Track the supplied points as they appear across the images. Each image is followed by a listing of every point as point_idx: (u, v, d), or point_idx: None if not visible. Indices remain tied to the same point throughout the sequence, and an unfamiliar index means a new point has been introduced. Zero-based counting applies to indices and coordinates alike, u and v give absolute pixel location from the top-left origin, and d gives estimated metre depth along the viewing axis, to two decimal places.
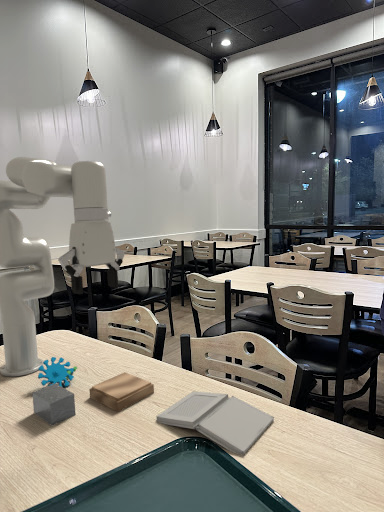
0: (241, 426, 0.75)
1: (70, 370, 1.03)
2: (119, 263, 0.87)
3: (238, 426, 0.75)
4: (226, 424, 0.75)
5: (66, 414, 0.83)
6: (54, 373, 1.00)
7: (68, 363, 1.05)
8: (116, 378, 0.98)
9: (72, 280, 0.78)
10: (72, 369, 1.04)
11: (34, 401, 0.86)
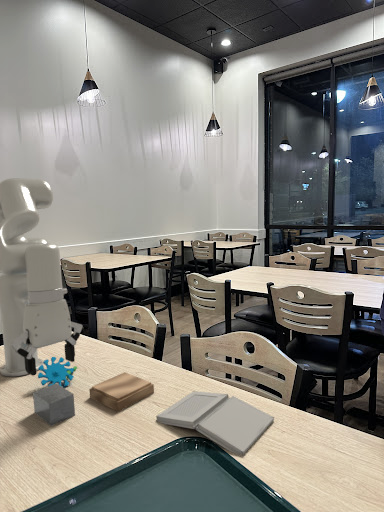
0: (241, 426, 0.75)
1: (70, 370, 1.04)
2: (76, 337, 0.89)
3: (238, 426, 0.75)
4: (226, 424, 0.75)
5: (65, 414, 0.83)
6: (54, 373, 1.00)
7: (68, 363, 1.05)
8: (116, 378, 0.98)
9: (25, 361, 0.80)
10: (72, 369, 1.04)
11: (35, 401, 0.86)
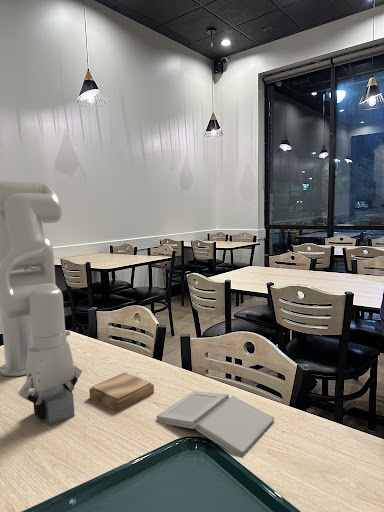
0: (241, 426, 0.75)
1: None
2: (74, 382, 0.89)
3: (238, 426, 0.75)
4: (226, 424, 0.75)
5: (64, 414, 0.83)
6: None
7: None
8: (116, 378, 0.98)
9: (34, 406, 0.82)
10: None
11: None
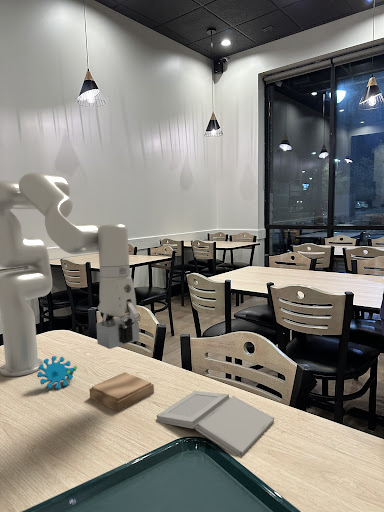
0: (240, 426, 0.75)
1: (70, 370, 1.04)
2: (128, 322, 0.88)
3: (237, 426, 0.75)
4: (225, 424, 0.75)
5: (104, 341, 0.89)
6: (53, 372, 1.01)
7: (68, 362, 1.05)
8: (116, 378, 0.98)
9: None
10: (72, 369, 1.04)
11: None
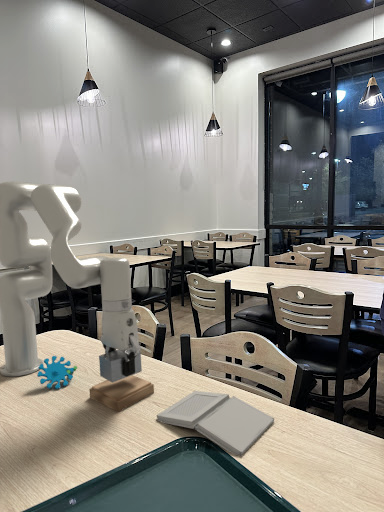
0: (240, 427, 0.75)
1: (70, 369, 1.04)
2: (130, 356, 0.89)
3: (237, 426, 0.75)
4: (225, 424, 0.75)
5: (107, 374, 0.90)
6: (53, 372, 1.01)
7: (68, 362, 1.05)
8: None
9: None
10: (72, 369, 1.04)
11: None
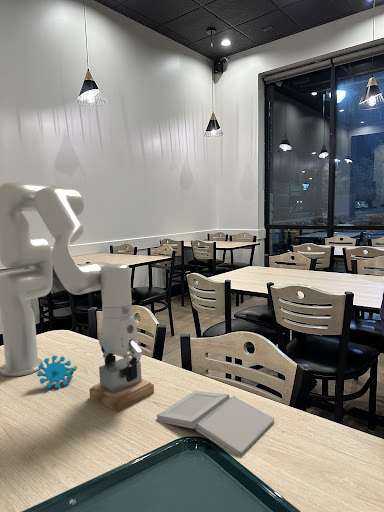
0: (240, 427, 0.75)
1: (70, 369, 1.04)
2: (132, 361, 0.89)
3: (237, 427, 0.75)
4: (225, 424, 0.75)
5: (107, 386, 0.90)
6: (53, 372, 1.01)
7: (68, 362, 1.05)
8: None
9: None
10: (72, 368, 1.04)
11: None
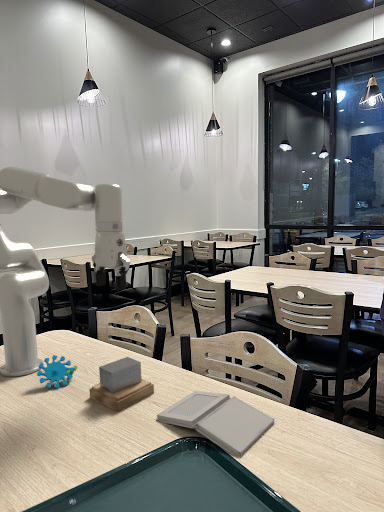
0: (240, 427, 0.75)
1: (70, 369, 1.04)
2: (122, 270, 0.97)
3: (237, 427, 0.75)
4: (225, 424, 0.75)
5: (107, 386, 0.90)
6: (53, 371, 1.01)
7: (69, 362, 1.05)
8: None
9: None
10: (72, 368, 1.05)
11: None
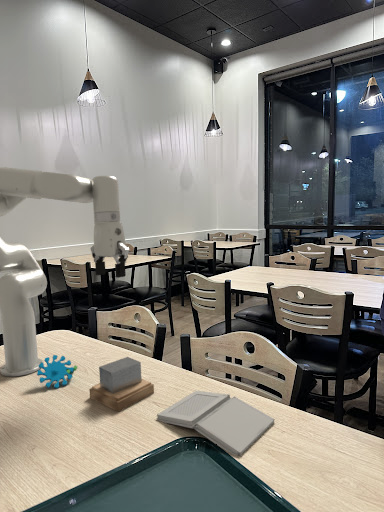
0: (240, 427, 0.75)
1: (70, 369, 1.04)
2: (121, 258, 1.01)
3: (237, 427, 0.75)
4: (225, 424, 0.75)
5: (107, 386, 0.90)
6: (53, 371, 1.02)
7: (69, 362, 1.06)
8: None
9: None
10: (72, 368, 1.05)
11: None
